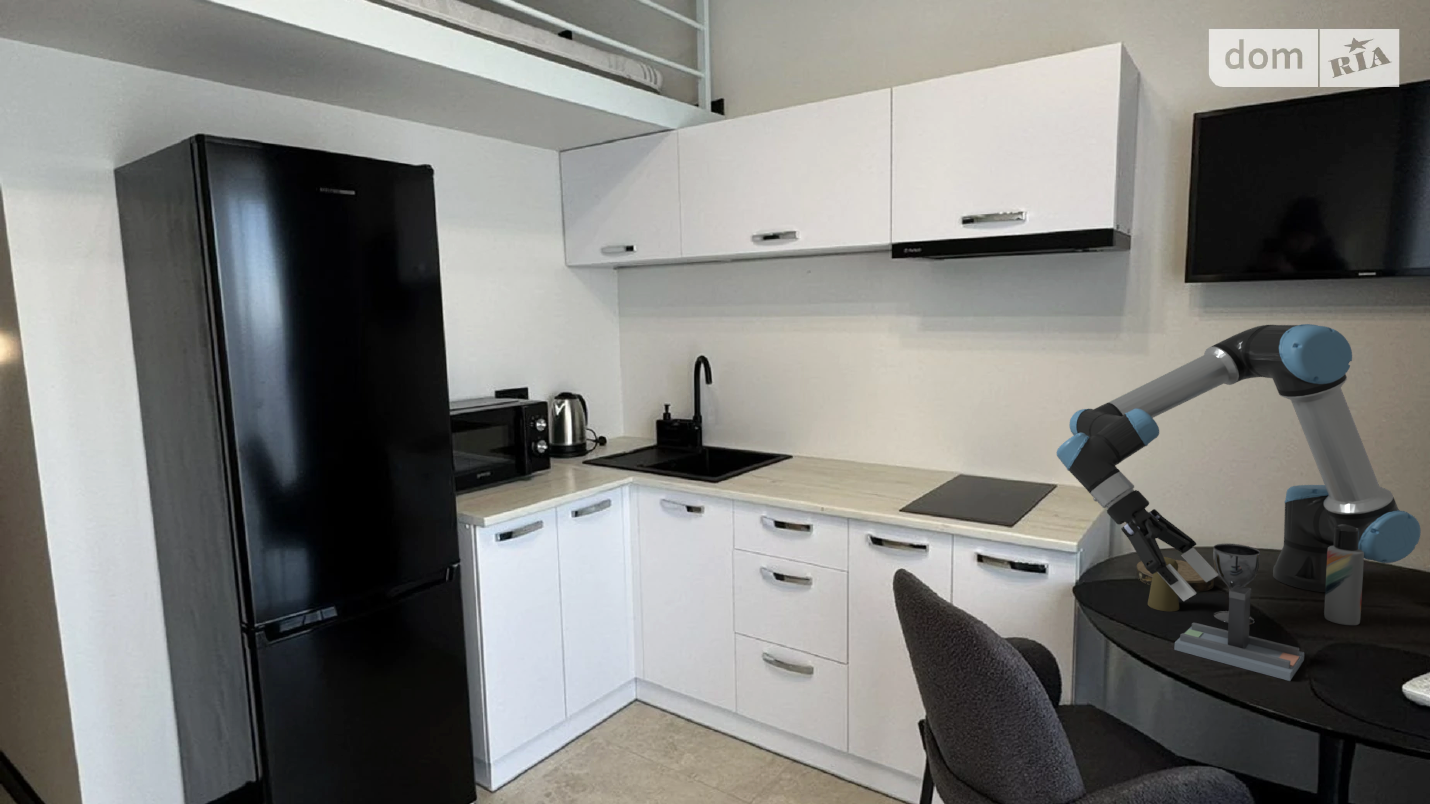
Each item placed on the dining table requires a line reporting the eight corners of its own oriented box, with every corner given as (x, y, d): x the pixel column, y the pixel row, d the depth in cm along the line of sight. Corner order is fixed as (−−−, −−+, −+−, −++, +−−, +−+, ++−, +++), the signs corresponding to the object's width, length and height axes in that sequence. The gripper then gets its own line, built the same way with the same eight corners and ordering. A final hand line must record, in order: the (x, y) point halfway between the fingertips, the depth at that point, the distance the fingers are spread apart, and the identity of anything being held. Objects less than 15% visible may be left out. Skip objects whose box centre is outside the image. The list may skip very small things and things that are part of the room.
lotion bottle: (1352, 616, 154) (1357, 523, 152) (1365, 627, 149) (1371, 531, 147) (1319, 613, 156) (1323, 521, 154) (1331, 624, 151) (1336, 529, 149)
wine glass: (1202, 612, 160) (1204, 544, 158) (1236, 609, 160) (1239, 542, 158) (1230, 627, 152) (1233, 556, 150) (1267, 624, 152) (1269, 553, 151)
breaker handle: (1227, 647, 139) (1229, 591, 138) (1233, 640, 142) (1235, 585, 141) (1242, 651, 137) (1245, 594, 136) (1248, 644, 140) (1251, 588, 139)
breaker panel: (1174, 649, 143) (1174, 636, 142) (1192, 632, 150) (1193, 619, 150) (1290, 681, 129) (1290, 666, 129) (1303, 660, 137) (1304, 646, 136)
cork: (1184, 612, 160) (1185, 563, 159) (1153, 610, 161) (1154, 562, 160) (1172, 601, 166) (1174, 554, 165) (1143, 600, 167) (1144, 553, 166)
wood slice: (1215, 597, 168) (1215, 584, 168) (1135, 586, 176) (1135, 574, 176) (1212, 575, 181) (1212, 563, 181) (1137, 566, 190) (1138, 555, 189)
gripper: (1129, 498, 162) (1205, 580, 153) (1081, 522, 146) (1163, 615, 136) (1156, 478, 158) (1237, 561, 148) (1110, 500, 141) (1197, 595, 132)
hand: (1201, 587), depth 142 cm, fingers open, 13 cm apart
